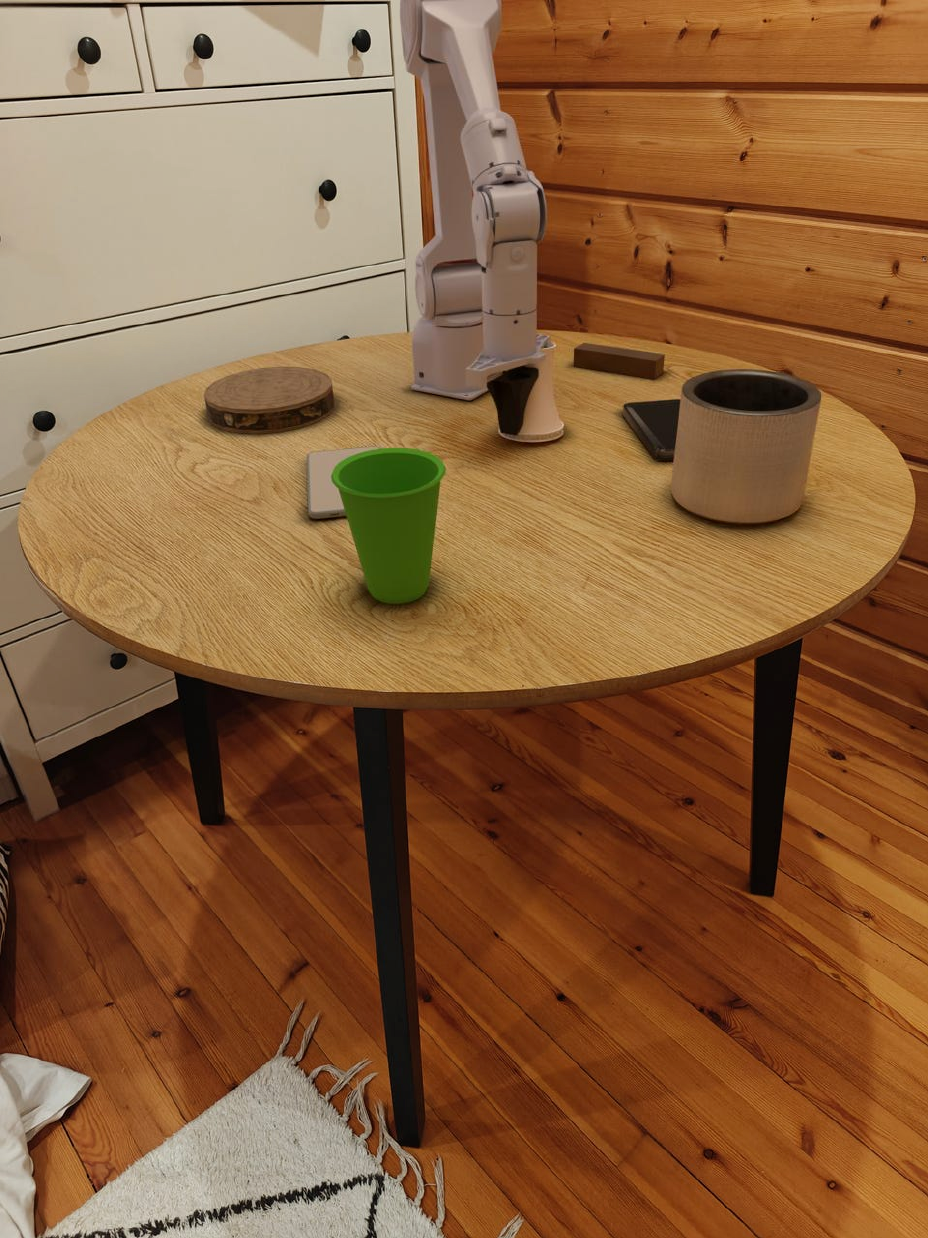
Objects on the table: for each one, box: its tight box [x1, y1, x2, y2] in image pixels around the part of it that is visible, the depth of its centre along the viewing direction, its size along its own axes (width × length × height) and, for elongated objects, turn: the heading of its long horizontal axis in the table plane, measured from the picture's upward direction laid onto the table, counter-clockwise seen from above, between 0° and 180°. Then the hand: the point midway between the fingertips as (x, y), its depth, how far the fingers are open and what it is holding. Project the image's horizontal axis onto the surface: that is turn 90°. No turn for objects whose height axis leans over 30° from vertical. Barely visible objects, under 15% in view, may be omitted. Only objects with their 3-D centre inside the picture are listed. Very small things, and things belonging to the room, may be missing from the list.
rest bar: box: [573, 342, 666, 380], centre depth 122 cm, size 12×3×2 cm, turn 57°
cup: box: [331, 447, 447, 605], centre depth 74 cm, size 9×9×11 cm
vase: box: [497, 340, 565, 443], centre depth 102 cm, size 8×8×10 cm
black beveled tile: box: [622, 398, 681, 462], centre depth 103 cm, size 8×1×15 cm
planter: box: [670, 368, 822, 526], centre depth 86 cm, size 12×12×11 cm
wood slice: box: [203, 366, 335, 435], centre depth 114 cm, size 16×16×3 cm
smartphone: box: [306, 445, 381, 520], centre depth 94 cm, size 8×1×15 cm
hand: (511, 432), depth 102 cm, fingers closed, pressing on vase
